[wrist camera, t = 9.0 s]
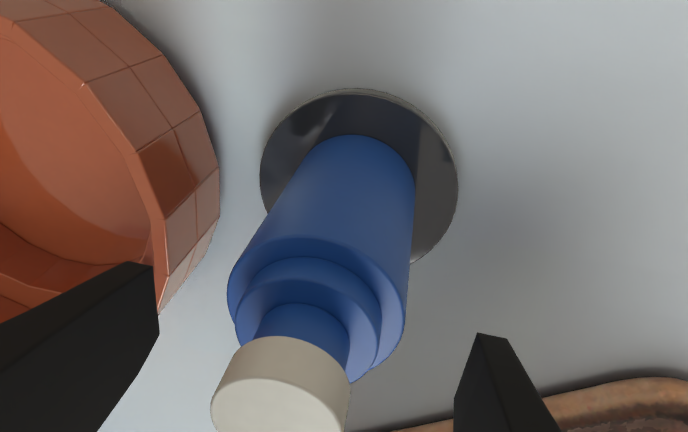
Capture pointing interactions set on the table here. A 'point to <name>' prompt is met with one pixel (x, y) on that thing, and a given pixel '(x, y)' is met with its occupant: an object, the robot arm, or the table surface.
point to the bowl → (95, 155)
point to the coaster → (381, 124)
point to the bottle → (319, 290)
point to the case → (612, 408)
